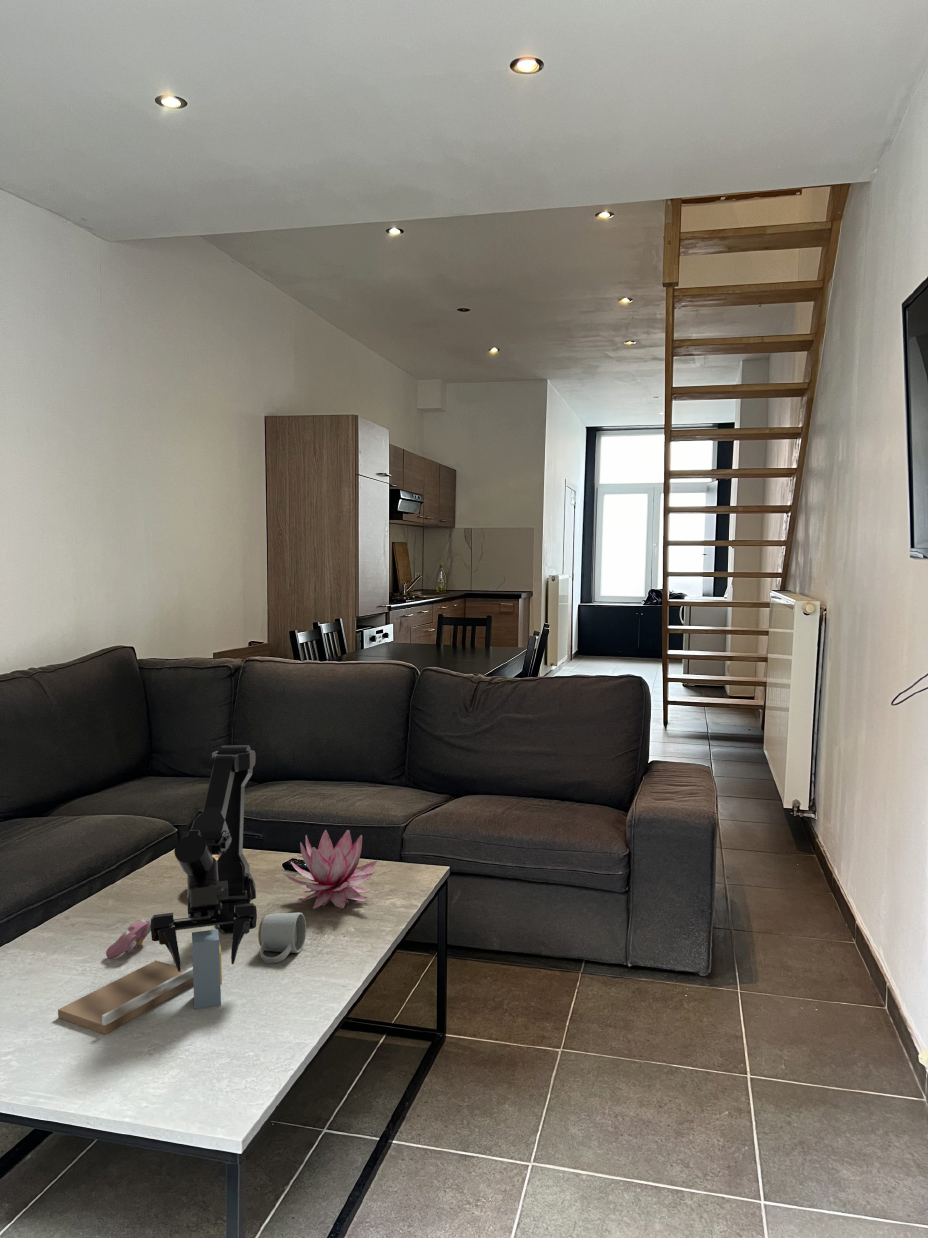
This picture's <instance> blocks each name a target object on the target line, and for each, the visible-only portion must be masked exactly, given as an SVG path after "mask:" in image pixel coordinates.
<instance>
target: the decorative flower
mask: <svg viewBox="0 0 928 1238" xmlns="http://www.w3.org/2000/svg"><path fill="white" fill-rule="evenodd" d="M299 846H300V853H301V857H302V859H303V862H304V864H305V865H306V867H307V869H308V870H309V871H307V870H305V869H303V868H301V867H299V866H298V865H297V864H296V863H294V862H292V861H290V863H291V864H290V865H292V866H293V868H294V869H295V870H296V872H297V873H299V875H301V877H303V878H305V879H308V880H309V881H310V882H307V881H303V880H298V879H296V878H293V877H292V876H290V875H287V874H284V876H285V877H286V878H288V879H289V880H290V881H293V882H295V883H296V884H299V885H304V886H305V888H307V889H308V890H301V892H302V893H304V894H305V893H306V894H307V893H311V892H312V893H311V894H309V895H308V896H305V897H304V898H301V899H299V900H297V902H306V901H309V900H311V899H312V898H315V897H316V900H315V902H314V905H313V907H312V909H317V908H319V907H320V906H322V908H324V907H326V905H327V904H329V902H330V901H331V903H332V904H333V905H334V906H335V907H336V908H341V909H343V908H344V907H345V905H346V904H350V903H349V900H352V901H353V900H355V901H361V902H362V901H363V902H364V901H366V898H365V897H364V896H363V895H361V894H360V893H363V892H368V891H369V889H368V888H363V887H359V886H360V885H361V884H363V883H365V882H366V881H368V880H370V878H372V876H373V875H375V874H376V872H375V871H374V872H372V871H373V870H374V868H375V866H376V865H377V864H378V862H379V860H378V859H377V860H374V861H371V862H369V863H366V864H363V865H360V866H358V865H359V862H360V857H361V854H362V849H363V848H362V847H363V835H362V834H360V835H359V837H358V838H357V839H356V840H355V842H354V843H353V841H352V835H351V831H350V830H349V829H347V830H346V831H345V832H344V834H343V835H342V836H341V837H340V839H339V840H338V841H337V843H336V845H335V847H334V845H333V843H332V840H331V837H330V834H329V833H328V831H327V829H325V830H324V831H323V833H322V835H321V838H320V841H319V844H318V846H317V847H318V848H316V847H314V846H313V847H312V845H311V843H310V841H309V838H308V835H307V834H305V846H304V844H303V843H302V842H301V841H300V842H299ZM371 872H372V873H371Z"/></svg>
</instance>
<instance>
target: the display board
mask: <svg viewBox="0 0 928 1238" xmlns="http://www.w3.org/2000/svg"><path fill="white" fill-rule="evenodd" d="M192 986H194V985H193V966H192V967H189V968H185V967H183V966H182V967H181V972H178V970H177V967H176V965H174V964H171V963H167V962H163V961H160V960H156V959H155V960H154V961H152V962H150V963H147V964H146V965H144V966H142V967H140V968H137V969H136V970H134V971H131V972H130V973H128V974H126V975H124V976H122V977H120V978H118V979H116V980H114V981H112V982H110V983H108V984H106V985H103V986H102V987H101V988H98V989H96V990H94V991H93V992H91V993H88V994H86V995H84V996H82V997H80V998H78V999H76V1000H75V1001H73V1002H70V1003H68V1004H66V1005H64V1006H62V1007H60V1008H58V1009H57V1017H58V1019H60V1020H63V1021H66V1022H69V1023H72V1024H75V1025H78V1026H81V1027H83V1028H87V1029H89V1030H92V1031H95V1032H98V1033H100V1034H104V1035H106V1034H108V1033H110V1032H112V1031H113V1030H115V1029H117V1028H119V1027H121V1026H123V1025H124V1024H127V1023H128V1022H130V1021H132V1020H133V1019H135V1018H137V1017H139V1016H140V1015H143V1014H144V1013H146V1012H148V1011H150V1010H151V1009H153V1008H155V1007H157V1006H159V1005H161V1004H162V1003H164V1002H166V1001H167V1000H169V999H171V998H172V997H175V996H176V995H178V994H180V993H182V992H183V991H186V989H189V988H190V987H192Z"/></svg>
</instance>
